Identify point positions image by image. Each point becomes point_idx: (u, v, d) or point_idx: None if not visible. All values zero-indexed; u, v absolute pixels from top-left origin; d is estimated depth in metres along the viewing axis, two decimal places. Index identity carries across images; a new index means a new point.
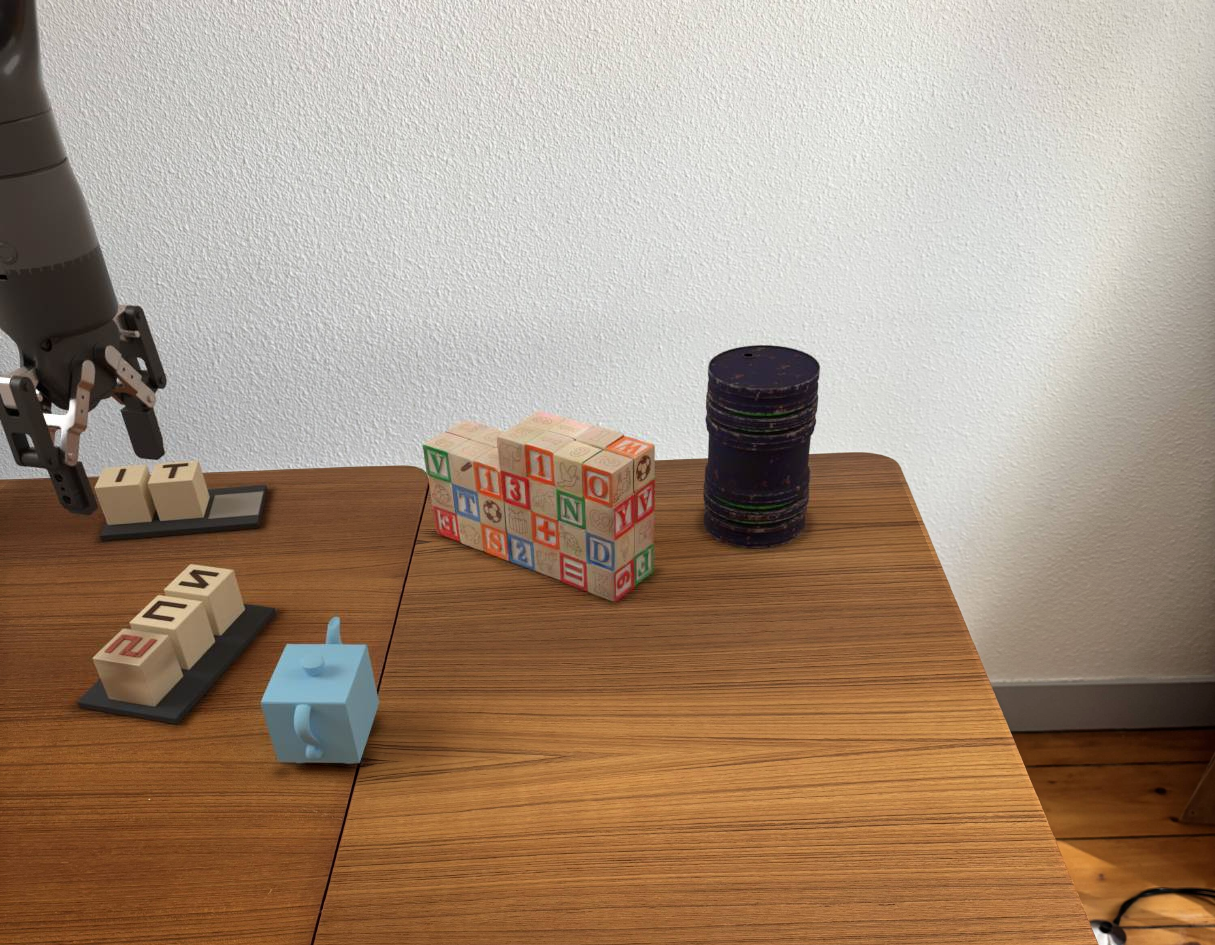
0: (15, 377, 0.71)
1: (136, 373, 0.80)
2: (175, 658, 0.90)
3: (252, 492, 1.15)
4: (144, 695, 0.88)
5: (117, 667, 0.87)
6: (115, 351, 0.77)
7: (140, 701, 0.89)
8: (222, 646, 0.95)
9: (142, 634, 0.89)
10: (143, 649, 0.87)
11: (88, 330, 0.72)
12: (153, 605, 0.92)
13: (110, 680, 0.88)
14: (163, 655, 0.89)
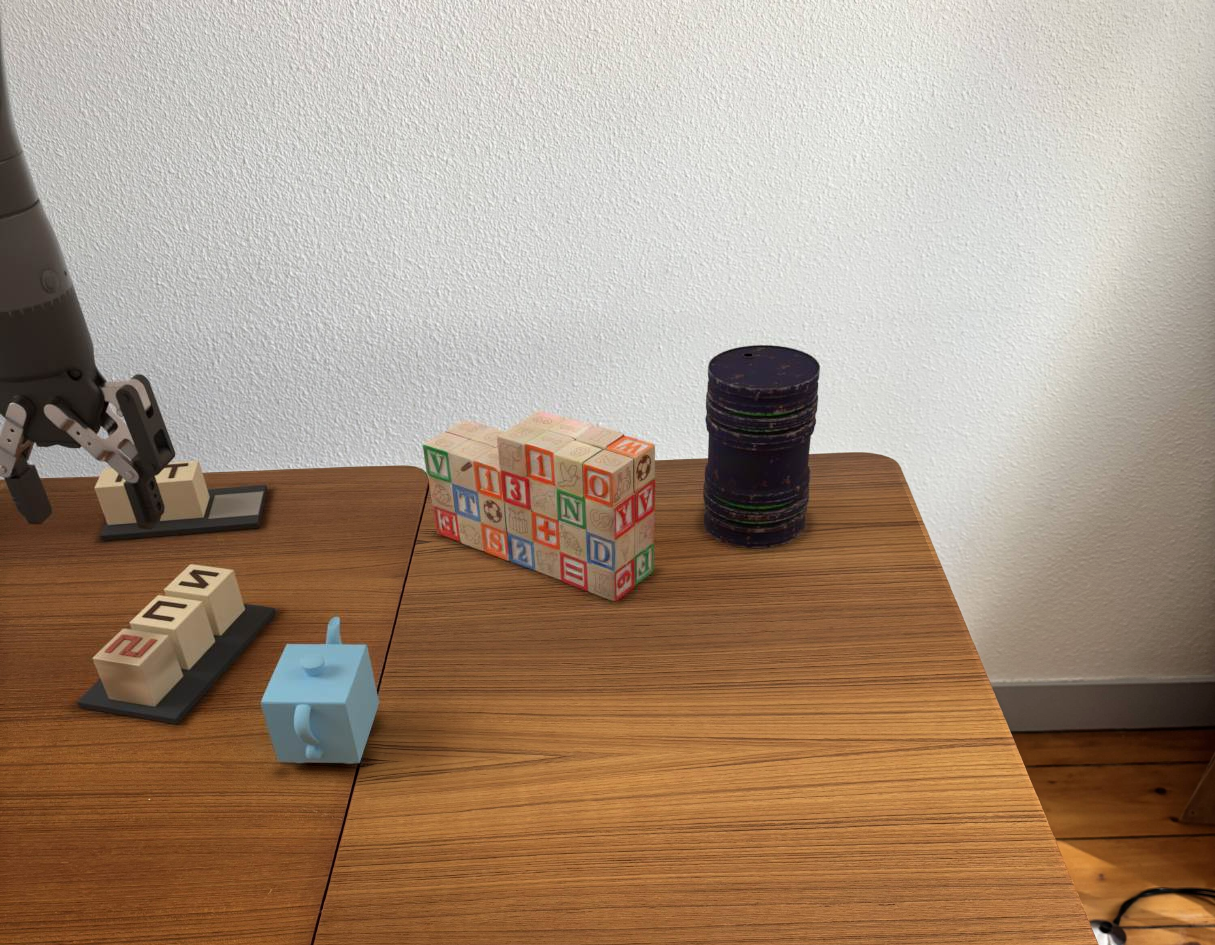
0: None
1: (97, 444, 0.75)
2: (175, 658, 0.90)
3: (252, 492, 1.15)
4: (144, 695, 0.88)
5: (117, 667, 0.87)
6: (59, 412, 0.74)
7: (140, 701, 0.89)
8: (222, 646, 0.95)
9: (142, 634, 0.89)
10: (143, 649, 0.87)
11: None
12: (153, 605, 0.92)
13: (110, 680, 0.88)
14: (163, 655, 0.89)
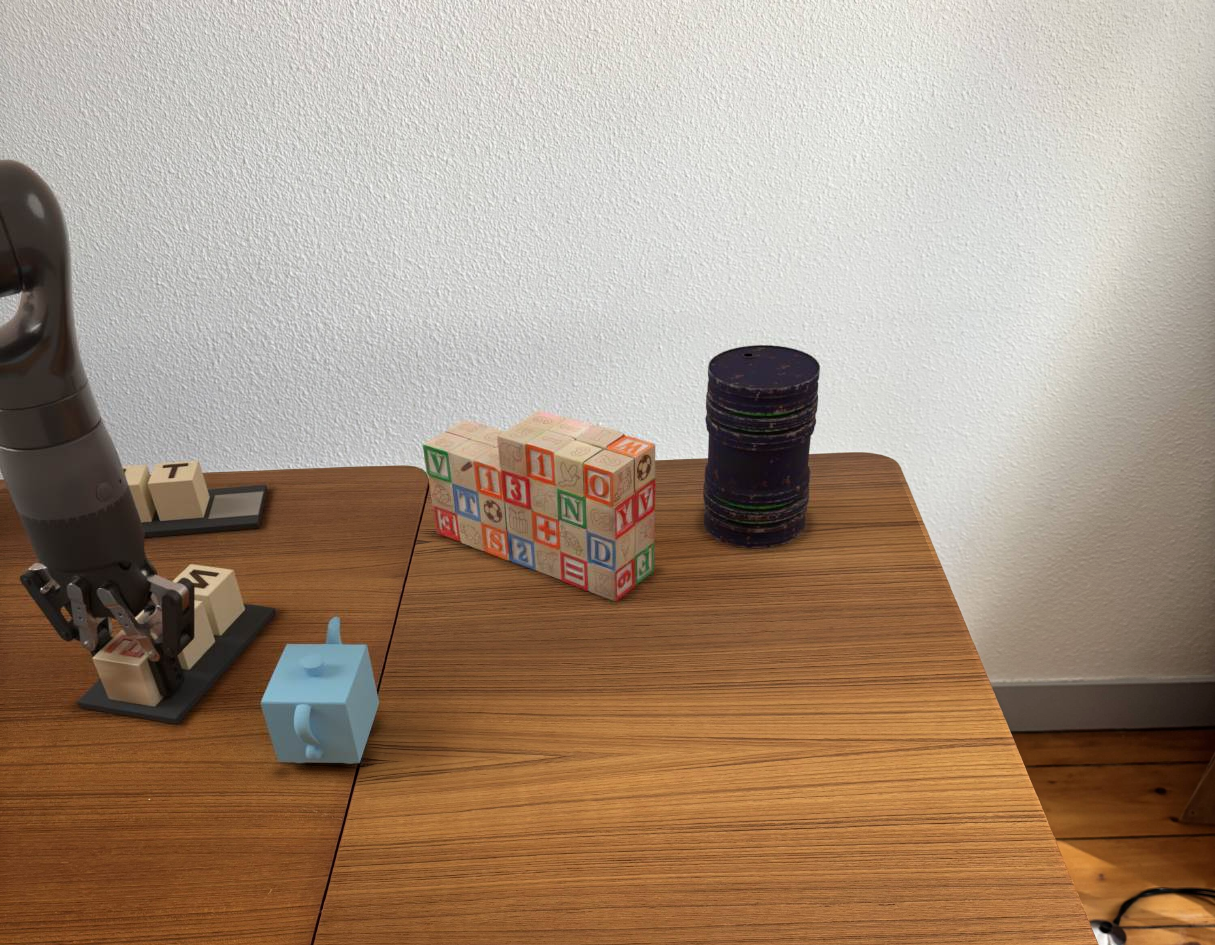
0: None
1: (133, 628, 0.84)
2: None
3: (252, 492, 1.15)
4: (144, 695, 0.88)
5: (117, 667, 0.87)
6: (110, 595, 0.82)
7: (140, 701, 0.89)
8: (222, 646, 0.95)
9: None
10: None
11: (46, 566, 0.80)
12: None
13: (110, 680, 0.88)
14: None
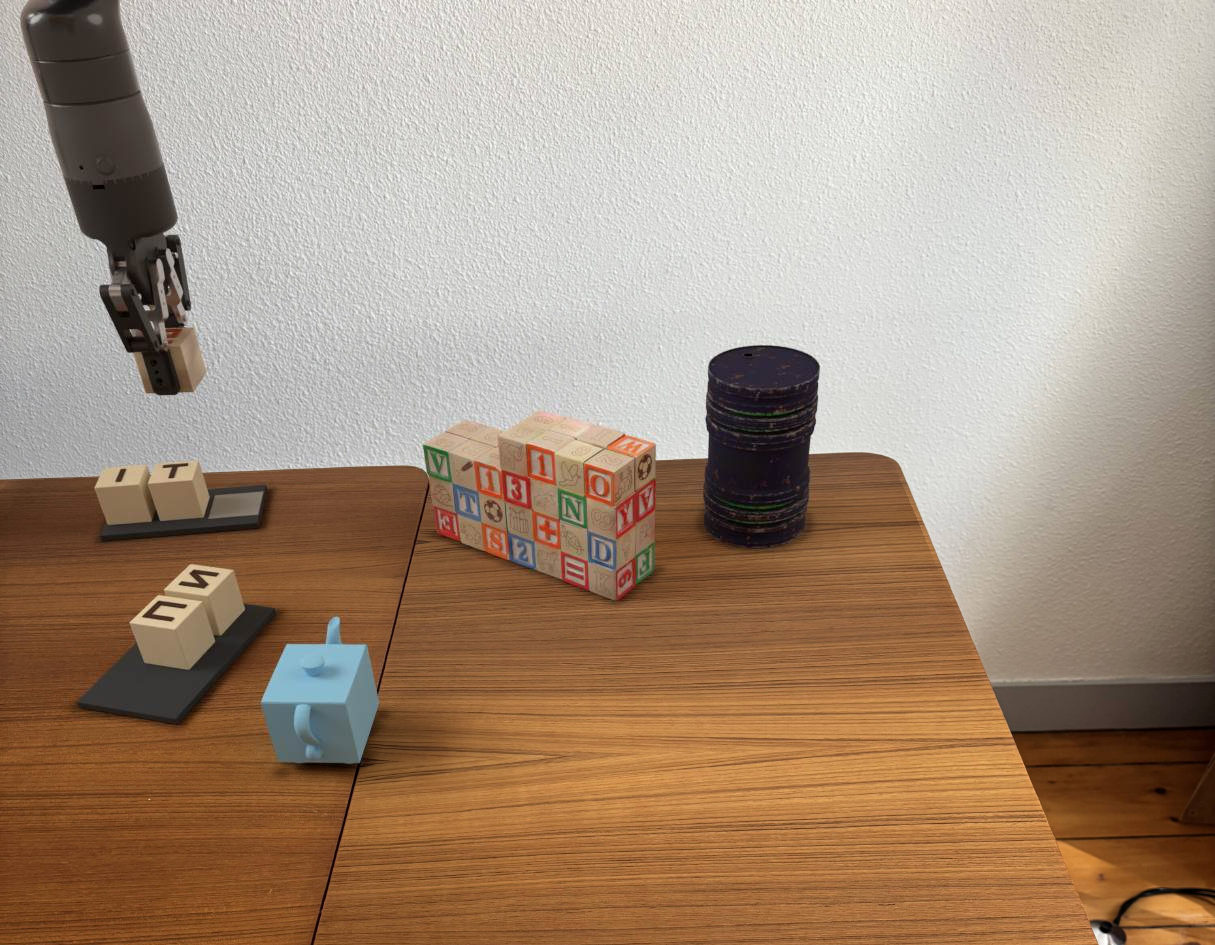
0: (123, 286, 0.87)
1: (180, 287, 0.96)
2: None
3: (252, 492, 1.15)
4: (201, 363, 0.99)
5: (189, 342, 0.97)
6: (171, 253, 0.93)
7: (202, 374, 0.99)
8: (222, 646, 0.95)
9: None
10: (170, 329, 0.97)
11: (164, 230, 0.89)
12: (153, 605, 0.92)
13: (190, 364, 0.97)
14: None
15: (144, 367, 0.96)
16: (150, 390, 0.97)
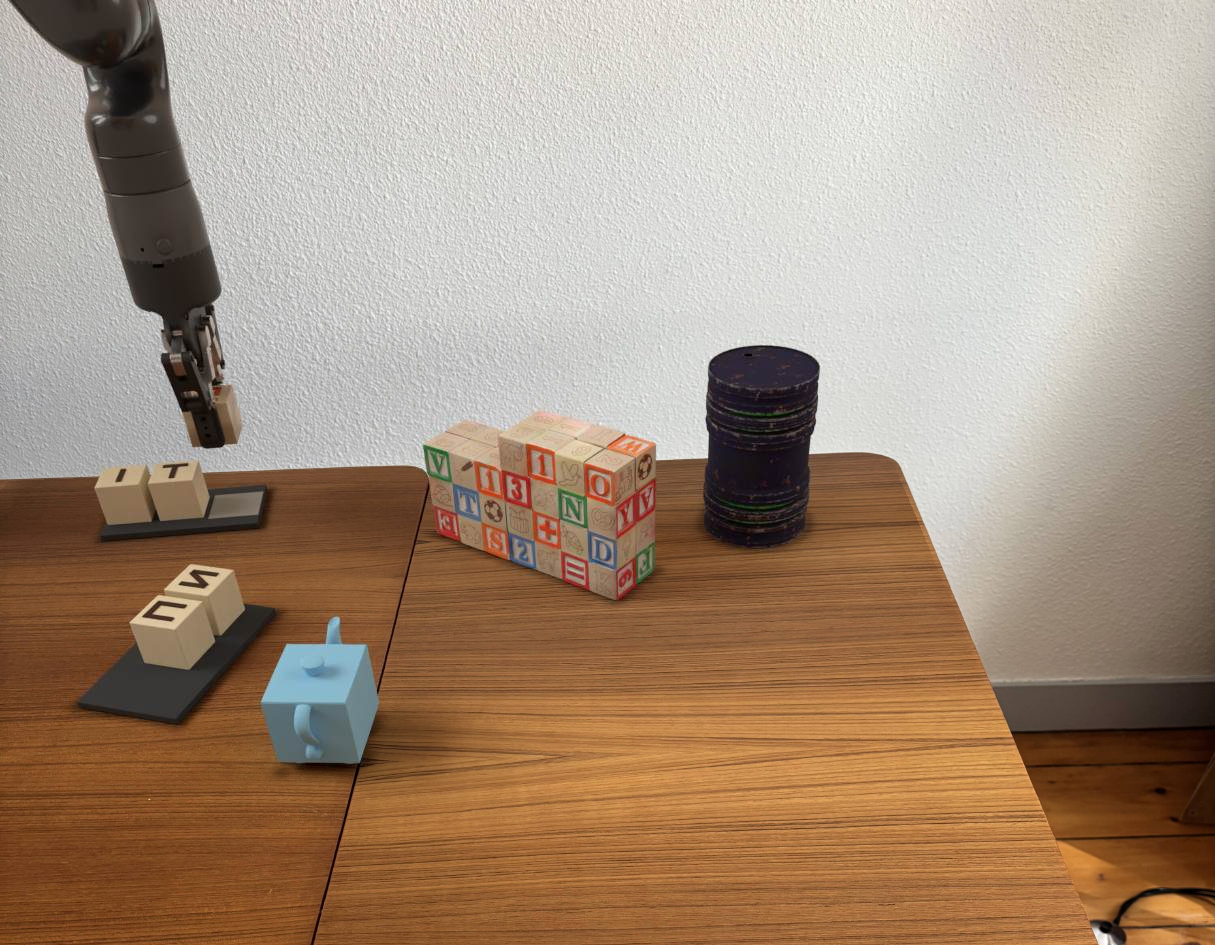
0: (183, 354, 0.96)
1: (219, 348, 1.05)
2: None
3: (252, 492, 1.15)
4: (239, 417, 1.08)
5: (230, 398, 1.06)
6: (212, 320, 1.02)
7: (240, 426, 1.08)
8: (222, 646, 0.95)
9: None
10: None
11: (213, 300, 0.98)
12: (153, 605, 0.92)
13: (233, 419, 1.06)
14: None
15: (192, 424, 1.05)
16: (197, 444, 1.06)
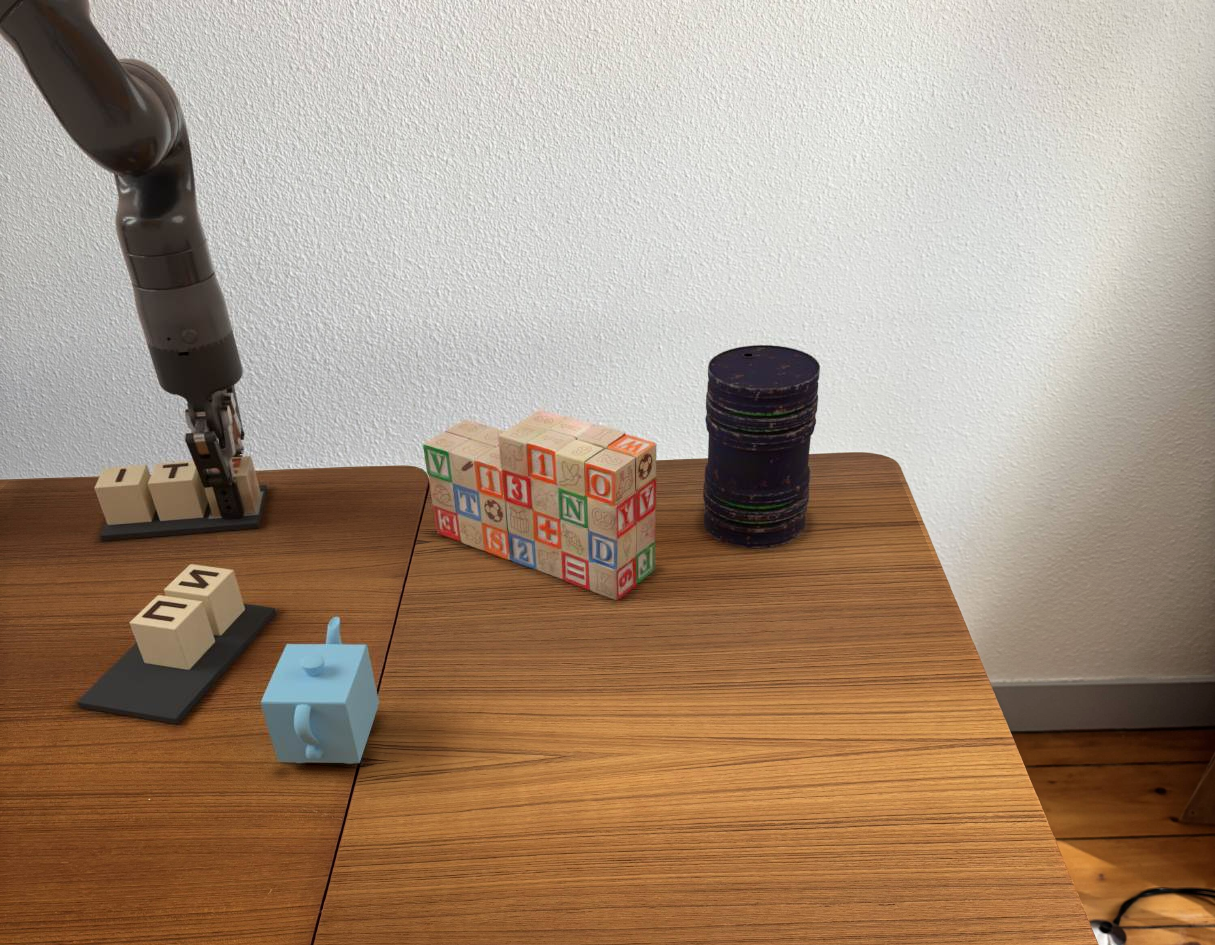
0: (206, 434, 1.01)
1: (239, 423, 1.10)
2: None
3: None
4: (257, 486, 1.13)
5: (249, 470, 1.10)
6: (233, 398, 1.07)
7: (258, 495, 1.13)
8: (222, 646, 0.95)
9: None
10: None
11: (235, 383, 1.03)
12: (153, 605, 0.92)
13: (252, 489, 1.11)
14: None
15: (212, 495, 1.10)
16: (217, 513, 1.11)
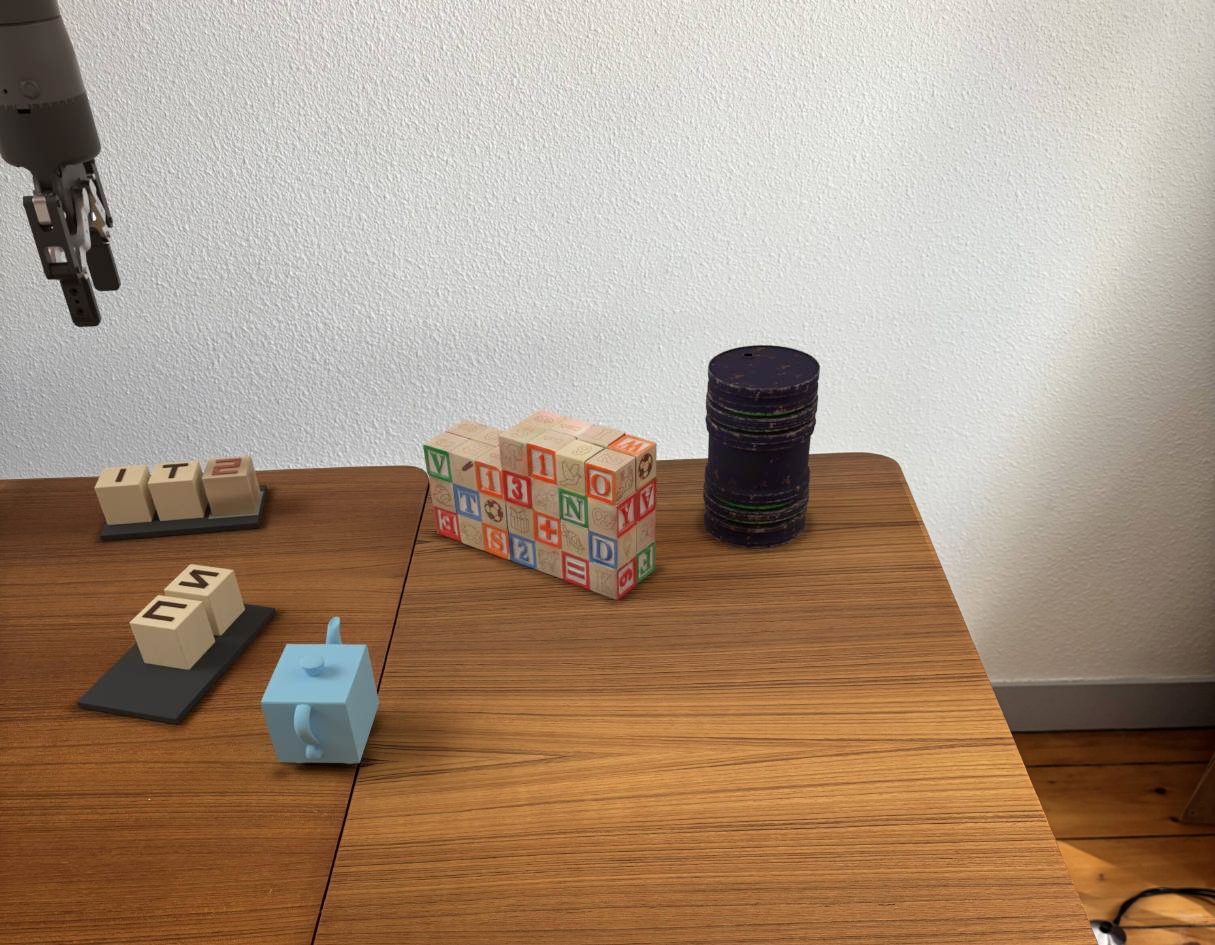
0: (48, 195, 0.86)
1: (103, 208, 0.96)
2: None
3: None
4: (257, 486, 1.13)
5: (249, 470, 1.10)
6: (93, 185, 0.93)
7: (258, 495, 1.13)
8: (222, 646, 0.95)
9: (209, 468, 1.10)
10: (231, 459, 1.11)
11: (90, 158, 0.89)
12: (153, 605, 0.92)
13: (252, 489, 1.11)
14: None
15: (212, 495, 1.10)
16: (217, 513, 1.11)
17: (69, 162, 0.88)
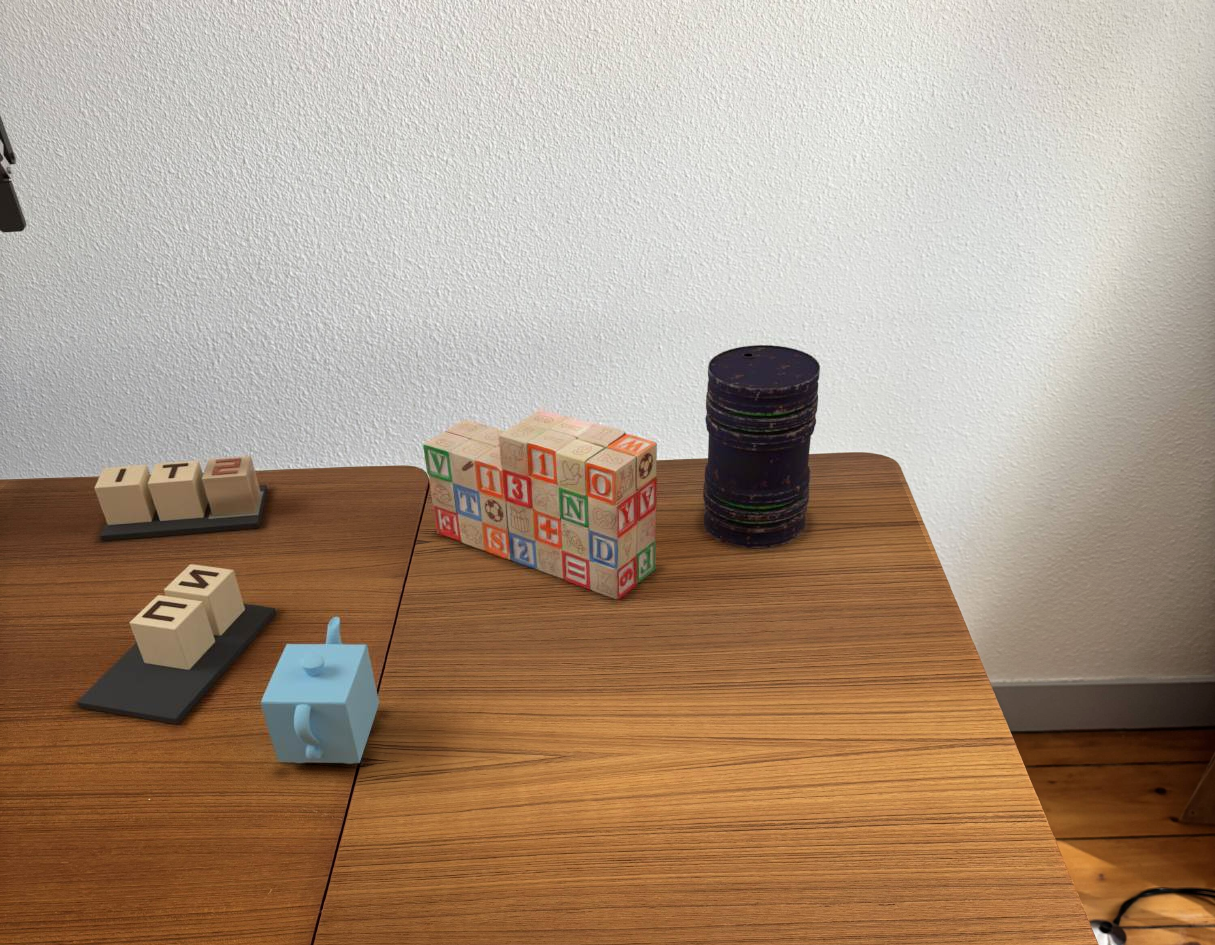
0: None
1: (0, 141, 0.91)
2: None
3: None
4: (257, 486, 1.13)
5: (249, 470, 1.10)
6: None
7: (258, 495, 1.13)
8: (222, 646, 0.95)
9: (209, 468, 1.10)
10: (231, 459, 1.11)
11: None
12: (153, 605, 0.92)
13: (252, 489, 1.11)
14: None
15: (212, 495, 1.10)
16: (217, 513, 1.11)
17: None
